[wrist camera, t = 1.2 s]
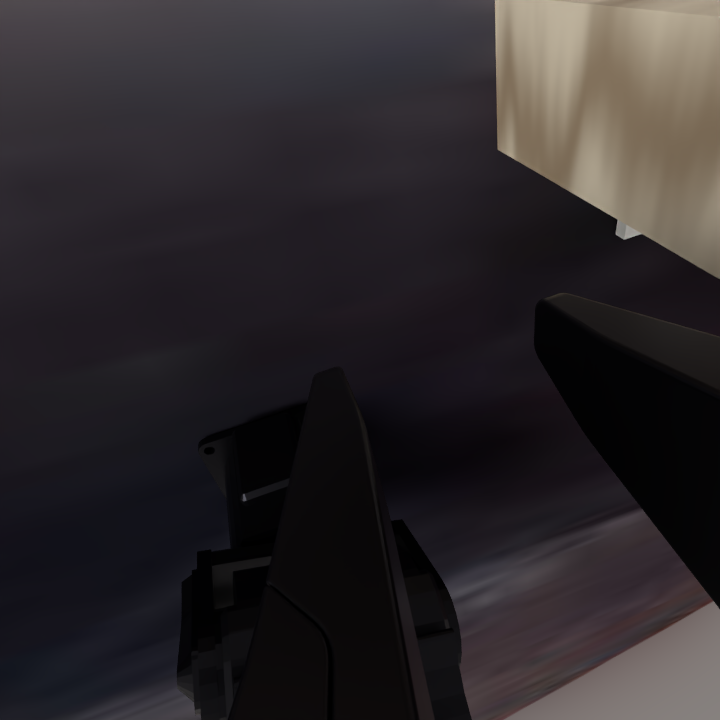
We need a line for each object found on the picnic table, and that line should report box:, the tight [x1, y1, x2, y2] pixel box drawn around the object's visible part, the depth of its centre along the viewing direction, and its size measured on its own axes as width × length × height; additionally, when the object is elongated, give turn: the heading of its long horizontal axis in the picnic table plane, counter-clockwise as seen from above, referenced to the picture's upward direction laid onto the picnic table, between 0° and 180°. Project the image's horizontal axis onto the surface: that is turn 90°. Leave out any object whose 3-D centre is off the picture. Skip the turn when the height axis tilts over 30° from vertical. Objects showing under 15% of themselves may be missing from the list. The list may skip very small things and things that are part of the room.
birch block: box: [495, 0, 720, 279], centre depth 14 cm, size 5×5×12 cm
